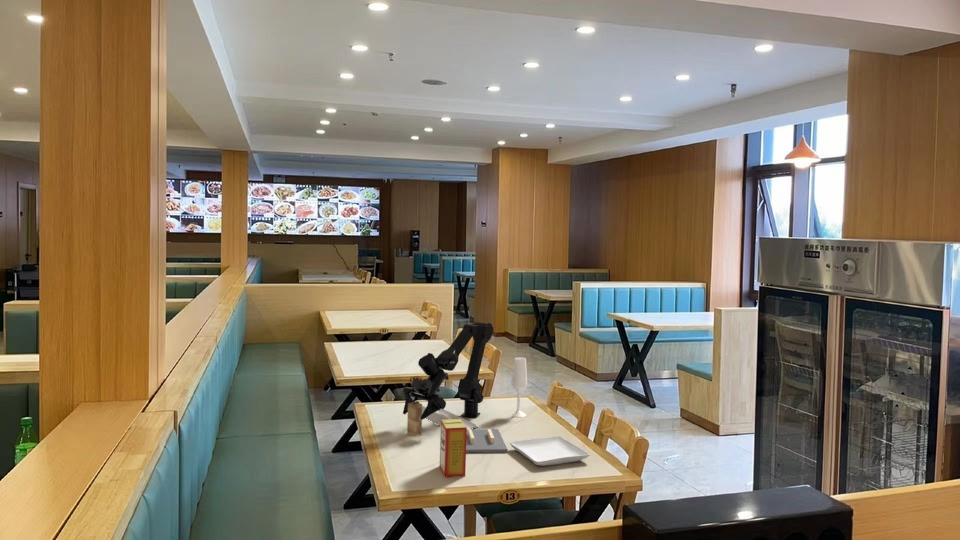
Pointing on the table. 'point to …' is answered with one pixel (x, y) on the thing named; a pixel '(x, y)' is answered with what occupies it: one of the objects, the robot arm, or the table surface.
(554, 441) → the salad plate
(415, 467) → the table surface
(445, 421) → the baking soda box
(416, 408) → the wooden board
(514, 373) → the champagne flute
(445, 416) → the crown molding
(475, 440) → the groove board
